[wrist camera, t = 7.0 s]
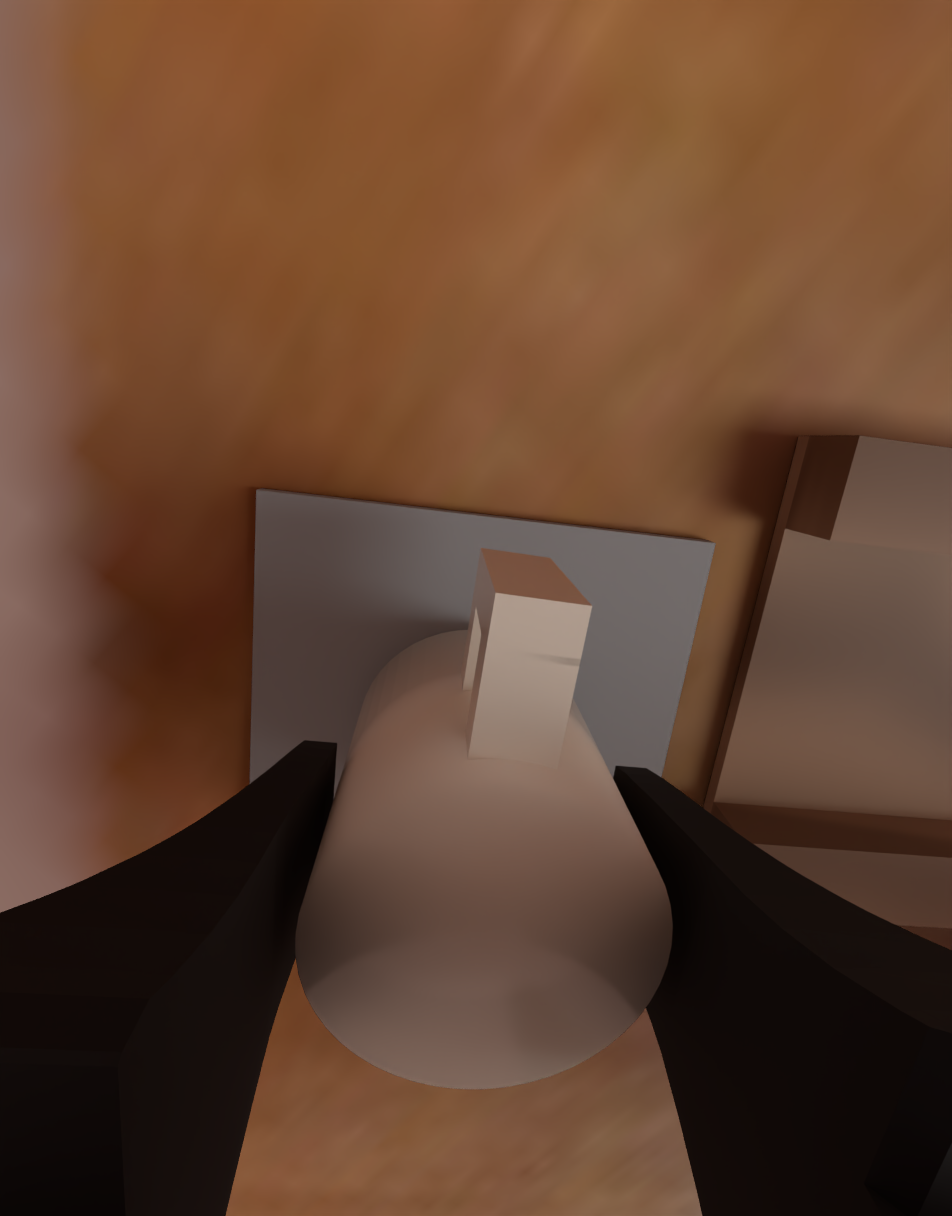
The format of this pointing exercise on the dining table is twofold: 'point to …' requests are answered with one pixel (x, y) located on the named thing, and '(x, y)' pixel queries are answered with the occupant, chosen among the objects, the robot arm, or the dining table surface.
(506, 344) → the dining table surface
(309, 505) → the grey mat
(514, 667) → the cream jug
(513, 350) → the dining table surface
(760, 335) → the dining table surface
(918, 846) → the walnut cradle
